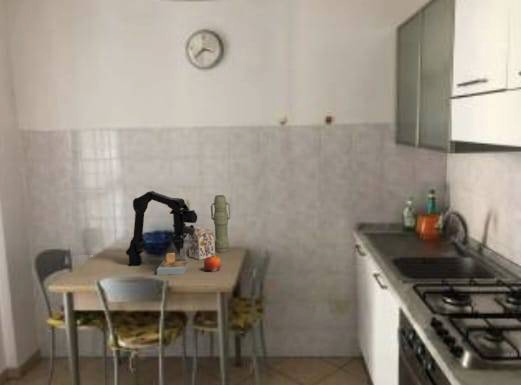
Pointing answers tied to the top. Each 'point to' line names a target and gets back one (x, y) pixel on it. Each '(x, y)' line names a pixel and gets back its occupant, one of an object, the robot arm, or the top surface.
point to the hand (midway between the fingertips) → (180, 250)
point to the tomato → (212, 263)
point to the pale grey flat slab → (170, 270)
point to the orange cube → (170, 257)
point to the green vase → (220, 223)
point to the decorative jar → (201, 244)
